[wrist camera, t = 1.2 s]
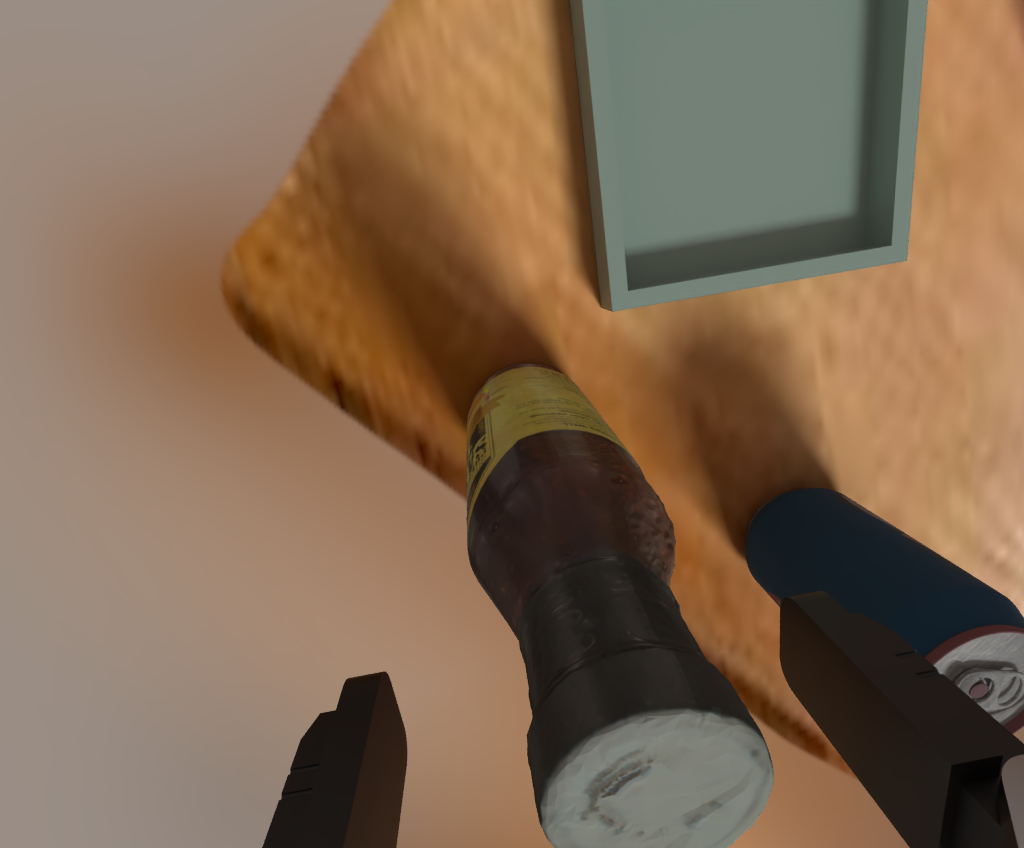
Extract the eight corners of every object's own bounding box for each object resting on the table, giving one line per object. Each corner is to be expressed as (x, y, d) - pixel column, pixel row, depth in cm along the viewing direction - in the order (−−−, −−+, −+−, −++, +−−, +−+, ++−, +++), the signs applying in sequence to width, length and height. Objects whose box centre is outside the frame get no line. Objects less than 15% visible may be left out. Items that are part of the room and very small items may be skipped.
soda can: (723, 579, 31) (869, 763, 19) (749, 475, 29) (930, 613, 17) (828, 583, 32) (1029, 764, 20) (862, 482, 30) (1106, 620, 18)
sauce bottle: (452, 377, 26) (392, 683, 7) (569, 344, 26) (827, 562, 7) (487, 488, 28) (515, 958, 9) (596, 458, 28) (853, 868, 9)
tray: (892, -84, 21) (937, -122, 19) (871, 260, 26) (907, 260, 24) (565, -32, 21) (575, -64, 19) (601, 307, 25) (612, 311, 23)
